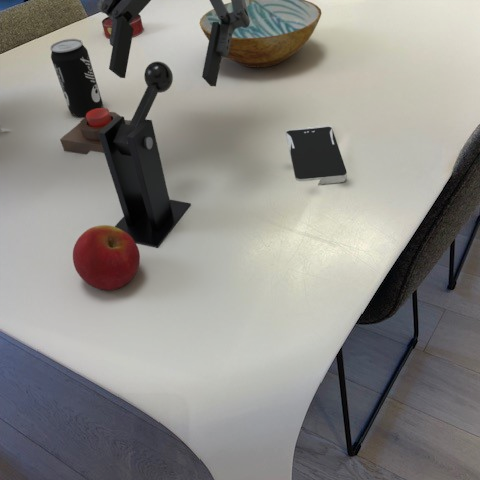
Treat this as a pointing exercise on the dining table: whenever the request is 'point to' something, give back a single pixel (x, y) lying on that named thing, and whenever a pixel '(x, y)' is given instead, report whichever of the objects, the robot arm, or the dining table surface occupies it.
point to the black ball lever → (145, 102)
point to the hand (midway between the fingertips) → (161, 77)
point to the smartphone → (316, 155)
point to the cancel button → (98, 117)
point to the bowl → (268, 30)
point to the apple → (106, 257)
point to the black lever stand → (141, 184)
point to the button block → (84, 137)
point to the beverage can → (76, 76)
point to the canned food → (108, 22)
